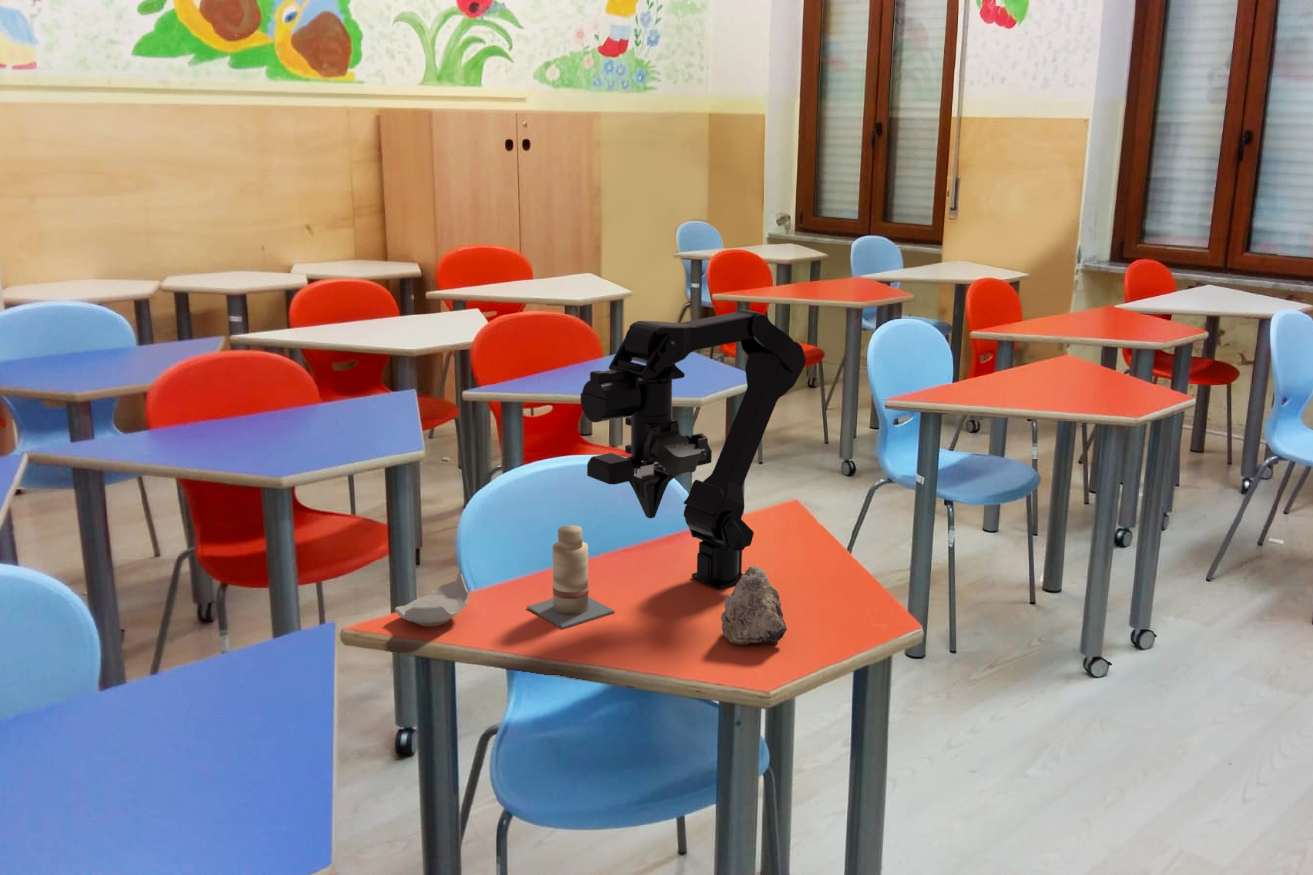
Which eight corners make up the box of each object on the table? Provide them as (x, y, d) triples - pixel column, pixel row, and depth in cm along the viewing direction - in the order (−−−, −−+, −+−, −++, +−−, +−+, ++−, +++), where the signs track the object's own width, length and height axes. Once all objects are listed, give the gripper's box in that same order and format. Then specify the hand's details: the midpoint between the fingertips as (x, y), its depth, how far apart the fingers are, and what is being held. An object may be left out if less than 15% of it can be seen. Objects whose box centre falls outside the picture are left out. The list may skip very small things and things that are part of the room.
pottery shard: (457, 600, 163) (456, 569, 162) (488, 629, 154) (487, 595, 153) (388, 615, 158) (387, 582, 157) (415, 645, 149) (414, 610, 147)
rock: (720, 666, 149) (755, 631, 143) (691, 595, 155) (724, 559, 148) (770, 658, 154) (806, 624, 148) (740, 590, 159) (773, 555, 153)
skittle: (585, 600, 163) (584, 522, 160) (591, 613, 158) (591, 534, 155) (550, 602, 162) (549, 524, 159) (555, 616, 157) (554, 536, 154)
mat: (577, 593, 166) (577, 591, 166) (614, 612, 160) (614, 610, 159) (527, 608, 161) (527, 606, 161) (562, 628, 154) (562, 626, 154)
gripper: (634, 433, 144) (634, 546, 148) (739, 413, 156) (736, 519, 160) (584, 417, 153) (585, 524, 157) (687, 399, 164) (685, 500, 168)
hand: (650, 517), depth 160 cm, fingers closed
